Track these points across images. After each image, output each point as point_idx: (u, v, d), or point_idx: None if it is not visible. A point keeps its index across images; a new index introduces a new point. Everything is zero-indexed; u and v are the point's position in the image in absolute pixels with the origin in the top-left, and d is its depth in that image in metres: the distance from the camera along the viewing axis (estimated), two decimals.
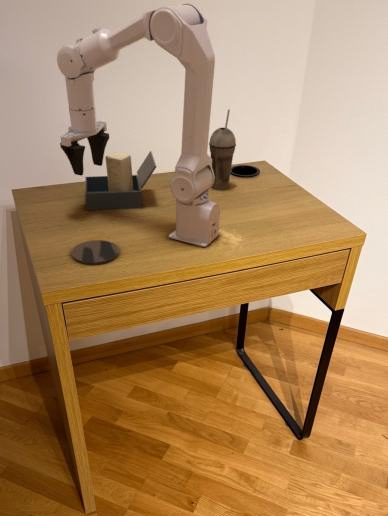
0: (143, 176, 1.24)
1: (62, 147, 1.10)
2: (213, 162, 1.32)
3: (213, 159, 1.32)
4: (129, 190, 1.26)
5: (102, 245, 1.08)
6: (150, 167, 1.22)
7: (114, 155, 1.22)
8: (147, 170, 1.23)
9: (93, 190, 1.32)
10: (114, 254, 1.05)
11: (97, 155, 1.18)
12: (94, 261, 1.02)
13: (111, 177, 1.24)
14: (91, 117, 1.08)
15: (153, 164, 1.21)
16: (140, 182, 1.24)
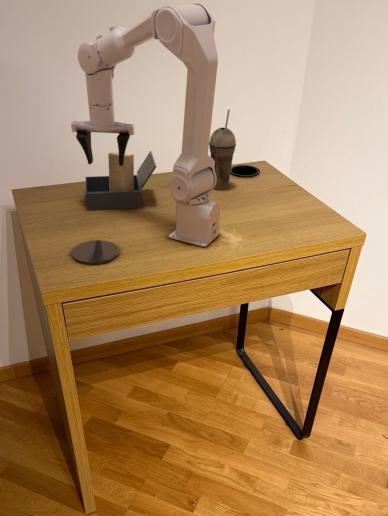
0: (143, 176, 1.24)
1: None
2: None
3: (213, 159, 1.32)
4: (130, 189, 1.27)
5: (102, 245, 1.08)
6: (150, 167, 1.22)
7: (117, 153, 1.23)
8: (147, 170, 1.23)
9: (93, 190, 1.32)
10: (114, 254, 1.05)
11: None
12: (94, 261, 1.02)
13: (113, 174, 1.24)
14: (96, 113, 1.11)
15: (153, 164, 1.21)
16: (140, 182, 1.24)
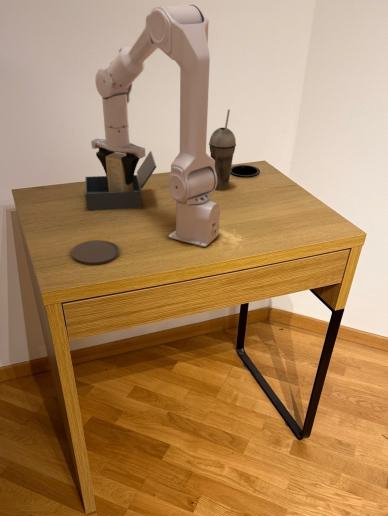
0: (143, 176, 1.24)
1: None
2: None
3: None
4: (129, 190, 1.26)
5: (102, 245, 1.08)
6: (150, 167, 1.22)
7: (114, 155, 1.22)
8: (147, 170, 1.23)
9: (93, 190, 1.32)
10: (114, 254, 1.05)
11: None
12: (94, 261, 1.02)
13: (111, 177, 1.24)
14: (108, 134, 1.17)
15: (153, 164, 1.21)
16: (140, 182, 1.24)
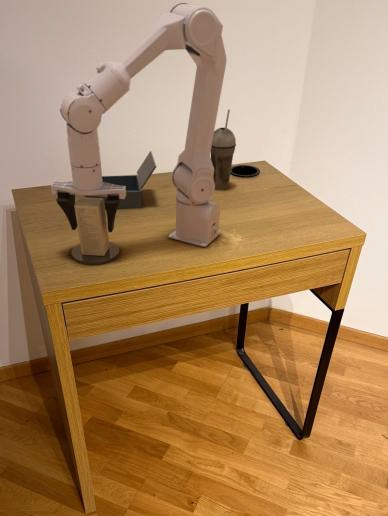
0: (143, 176, 1.24)
1: None
2: (213, 162, 1.32)
3: (213, 159, 1.32)
4: (106, 240, 1.04)
5: None
6: (150, 167, 1.22)
7: (84, 201, 0.99)
8: (147, 170, 1.23)
9: None
10: (114, 254, 1.05)
11: None
12: (94, 261, 1.02)
13: (84, 228, 1.00)
14: (80, 175, 0.93)
15: (153, 164, 1.21)
16: (140, 182, 1.24)
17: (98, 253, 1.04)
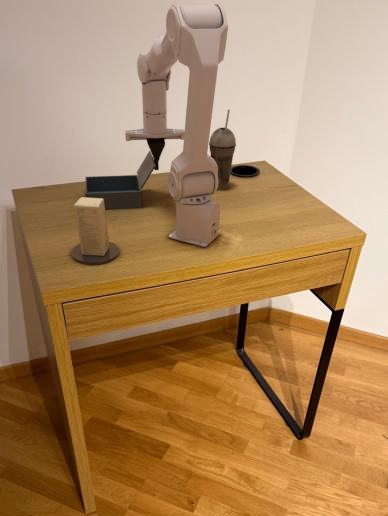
0: (143, 176, 1.24)
1: None
2: None
3: None
4: (106, 240, 1.04)
5: None
6: (149, 167, 1.22)
7: (84, 201, 0.99)
8: (147, 170, 1.23)
9: (93, 190, 1.32)
10: (114, 254, 1.05)
11: None
12: (94, 261, 1.02)
13: (84, 228, 1.00)
14: (154, 121, 1.16)
15: (152, 164, 1.21)
16: (140, 182, 1.24)
17: (98, 253, 1.04)
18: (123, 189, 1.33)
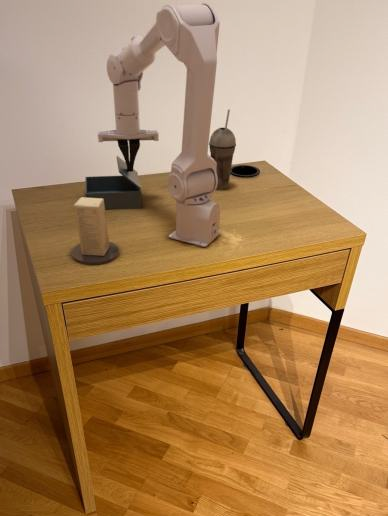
0: None
1: None
2: None
3: None
4: (106, 240, 1.04)
5: None
6: None
7: (84, 201, 0.99)
8: None
9: (93, 190, 1.32)
10: (114, 254, 1.05)
11: (130, 161, 1.23)
12: (94, 261, 1.02)
13: (84, 228, 1.00)
14: (125, 122, 1.15)
15: None
16: None
17: (98, 253, 1.04)
18: (123, 189, 1.33)
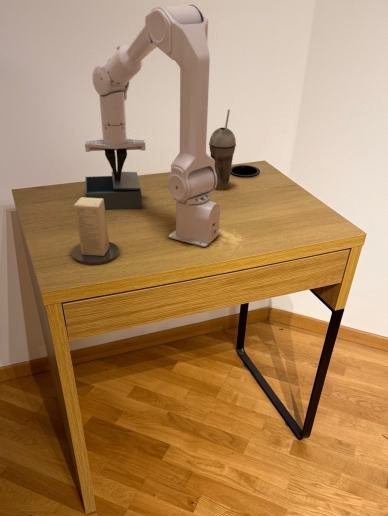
0: None
1: None
2: None
3: None
4: (106, 240, 1.04)
5: None
6: None
7: (84, 201, 0.99)
8: None
9: (93, 190, 1.32)
10: (114, 254, 1.05)
11: (117, 170, 1.24)
12: (94, 261, 1.02)
13: (84, 228, 1.00)
14: (112, 132, 1.16)
15: None
16: None
17: (98, 253, 1.04)
18: (123, 189, 1.33)
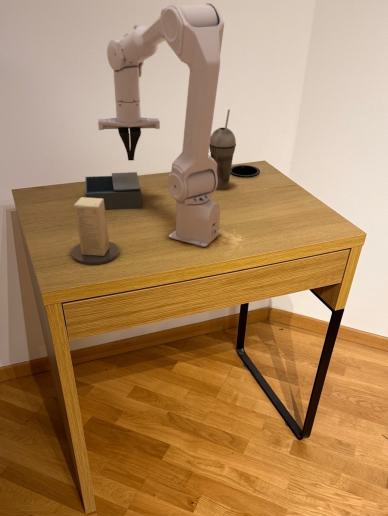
0: None
1: None
2: None
3: None
4: (106, 240, 1.04)
5: None
6: None
7: (84, 201, 0.99)
8: None
9: (93, 190, 1.32)
10: (114, 254, 1.05)
11: None
12: (94, 261, 1.02)
13: (84, 228, 1.00)
14: (126, 109, 1.13)
15: None
16: None
17: (98, 253, 1.04)
18: None
